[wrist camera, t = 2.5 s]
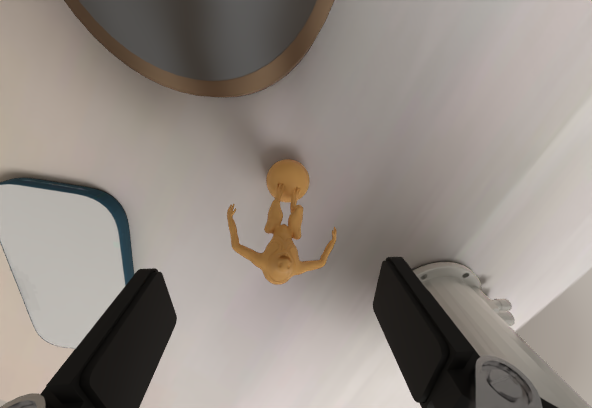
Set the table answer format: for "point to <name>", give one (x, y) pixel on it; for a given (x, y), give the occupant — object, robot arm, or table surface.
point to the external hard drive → (64, 254)
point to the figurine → (282, 226)
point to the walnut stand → (206, 39)
